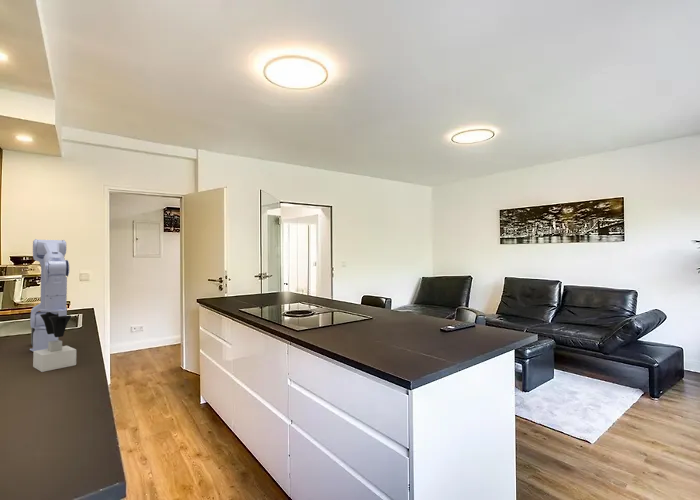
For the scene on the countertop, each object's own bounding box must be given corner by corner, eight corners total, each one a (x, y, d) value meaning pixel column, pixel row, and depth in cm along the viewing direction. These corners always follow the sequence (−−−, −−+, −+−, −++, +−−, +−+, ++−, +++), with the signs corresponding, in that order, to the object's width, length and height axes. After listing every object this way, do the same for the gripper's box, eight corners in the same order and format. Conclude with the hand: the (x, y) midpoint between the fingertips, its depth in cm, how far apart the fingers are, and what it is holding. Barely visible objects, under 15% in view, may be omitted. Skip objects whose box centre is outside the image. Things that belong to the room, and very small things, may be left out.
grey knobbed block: (33, 366, 120) (33, 342, 121) (66, 360, 128) (67, 337, 128) (41, 371, 115) (42, 346, 115) (76, 364, 123) (76, 340, 123)
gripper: (34, 295, 123) (33, 334, 123) (48, 298, 115) (47, 340, 114) (59, 293, 129) (59, 331, 128) (74, 296, 120) (73, 336, 120)
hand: (55, 335), depth 122 cm, fingers open, 7 cm apart
